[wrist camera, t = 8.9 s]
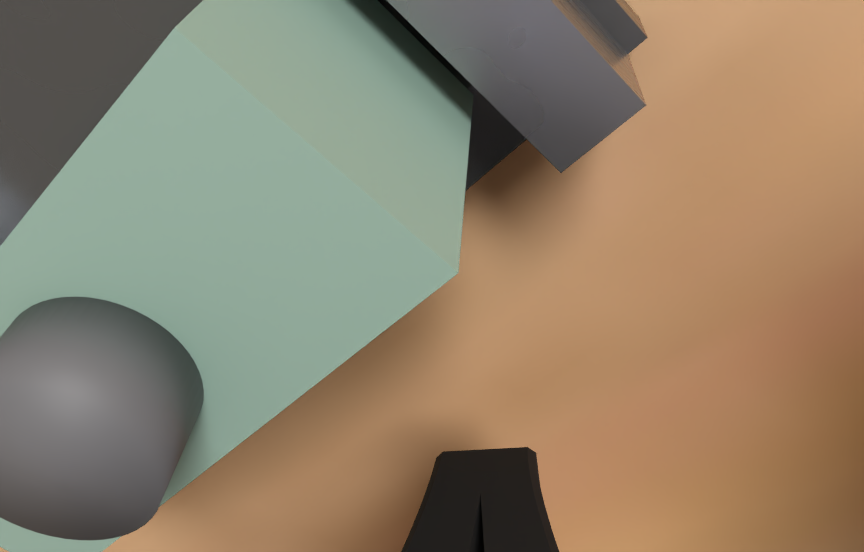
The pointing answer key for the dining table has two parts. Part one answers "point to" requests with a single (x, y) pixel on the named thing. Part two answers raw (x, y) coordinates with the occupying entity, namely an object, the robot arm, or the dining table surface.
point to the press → (409, 3)
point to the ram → (218, 254)
